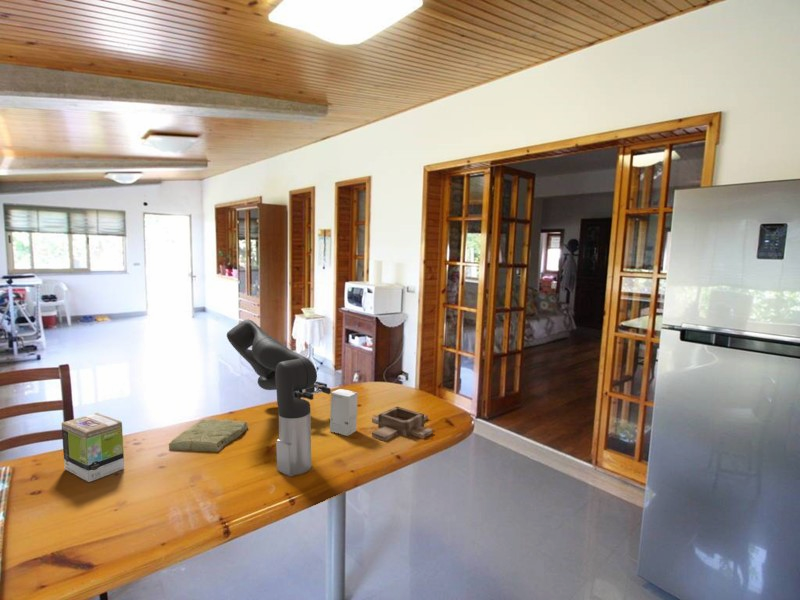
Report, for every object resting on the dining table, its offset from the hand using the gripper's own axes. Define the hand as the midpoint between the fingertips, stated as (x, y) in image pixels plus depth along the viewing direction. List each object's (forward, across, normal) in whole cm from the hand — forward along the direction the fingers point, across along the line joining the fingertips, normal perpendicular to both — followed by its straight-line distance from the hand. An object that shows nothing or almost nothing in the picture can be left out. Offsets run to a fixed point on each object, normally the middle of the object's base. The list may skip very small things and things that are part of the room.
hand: (321, 394), depth 162 cm
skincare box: (+12, 0, +12) cm, 17 cm away
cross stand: (+26, +16, +11) cm, 33 cm away
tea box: (-26, -66, +12) cm, 72 cm away
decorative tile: (-20, -33, +12) cm, 41 cm away
